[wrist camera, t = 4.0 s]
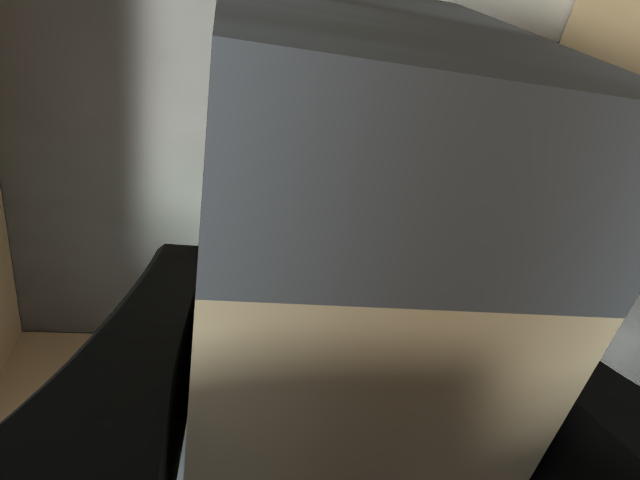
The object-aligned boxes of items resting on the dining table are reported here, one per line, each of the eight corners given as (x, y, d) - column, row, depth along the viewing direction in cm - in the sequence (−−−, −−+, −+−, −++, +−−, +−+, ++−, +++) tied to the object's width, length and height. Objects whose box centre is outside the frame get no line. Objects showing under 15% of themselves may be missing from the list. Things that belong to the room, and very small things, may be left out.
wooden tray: (-73, 339, 18) (-142, 437, 15) (-263, -369, 10) (-531, -523, 6) (504, 354, 23) (552, 431, 19) (721, -110, 14) (873, -118, 11)
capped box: (190, 404, 13) (167, 709, 8) (221, -39, 8) (212, 35, 3) (344, 405, 14) (409, 680, 9) (456, 4, 9) (745, 115, 4)
